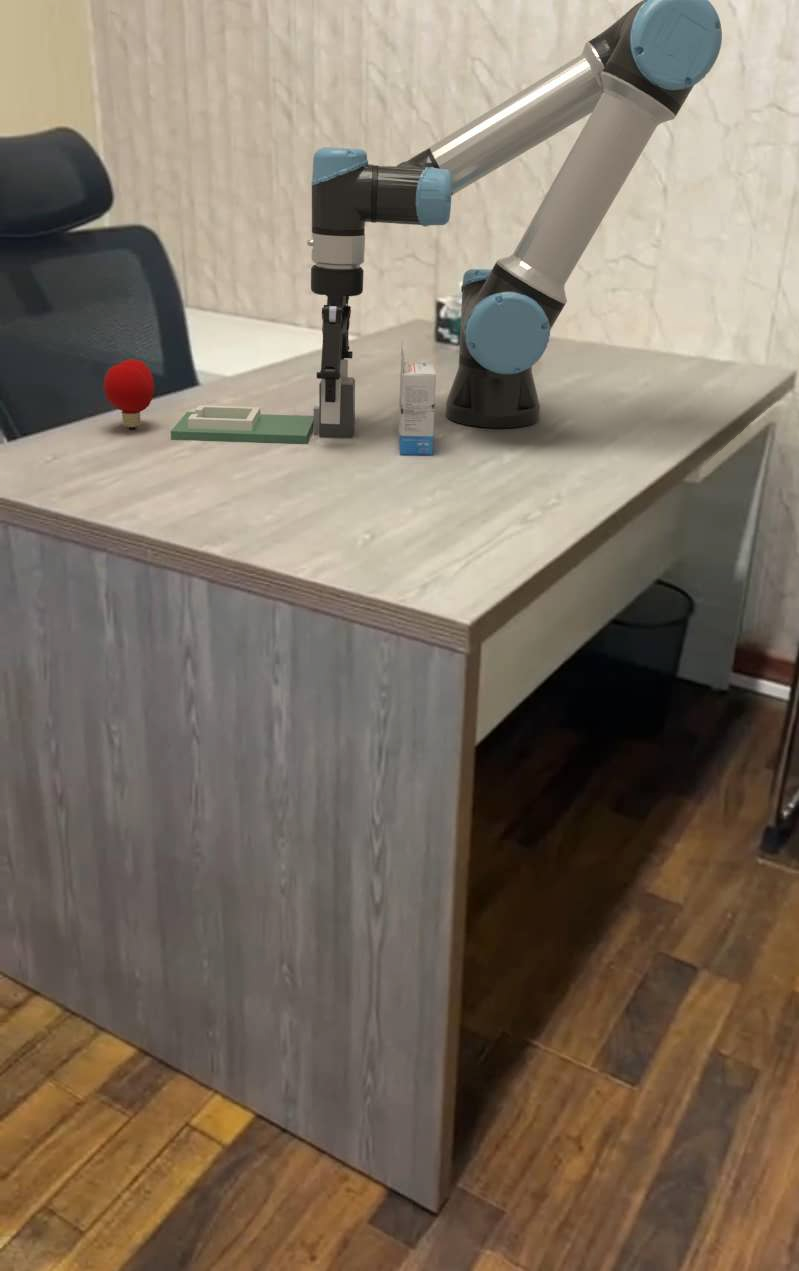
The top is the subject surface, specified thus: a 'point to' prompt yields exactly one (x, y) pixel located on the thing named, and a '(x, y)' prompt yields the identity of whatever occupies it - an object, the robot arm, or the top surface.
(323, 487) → the top surface
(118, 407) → the light bulb
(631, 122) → the robot arm
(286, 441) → the board
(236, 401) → the top surface
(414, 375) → the ink box
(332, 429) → the plug
